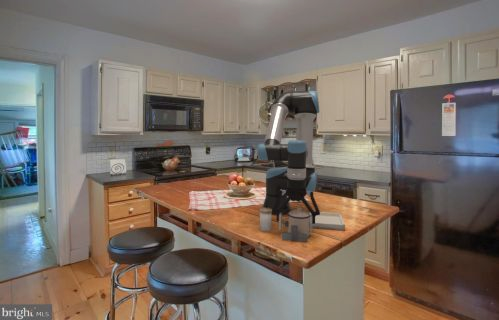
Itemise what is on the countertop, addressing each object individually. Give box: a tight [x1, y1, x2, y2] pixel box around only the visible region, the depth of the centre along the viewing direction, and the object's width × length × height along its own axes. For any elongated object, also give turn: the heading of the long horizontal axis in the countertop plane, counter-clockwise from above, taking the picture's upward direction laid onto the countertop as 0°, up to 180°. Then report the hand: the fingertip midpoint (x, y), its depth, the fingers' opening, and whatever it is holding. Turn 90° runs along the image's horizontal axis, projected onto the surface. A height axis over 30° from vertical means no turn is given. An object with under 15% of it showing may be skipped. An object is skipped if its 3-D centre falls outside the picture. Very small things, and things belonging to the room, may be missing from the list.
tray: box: [309, 211, 346, 232], centre depth 130 cm, size 15×18×2 cm
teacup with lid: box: [281, 206, 311, 238], centre depth 115 cm, size 12×9×12 cm
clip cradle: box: [280, 220, 309, 243], centre depth 115 cm, size 10×15×6 cm, turn 167°
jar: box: [259, 207, 273, 232], centre depth 121 cm, size 5×5×9 cm
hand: (295, 229), depth 116 cm, fingers closed on teacup with lid, 12 cm apart
